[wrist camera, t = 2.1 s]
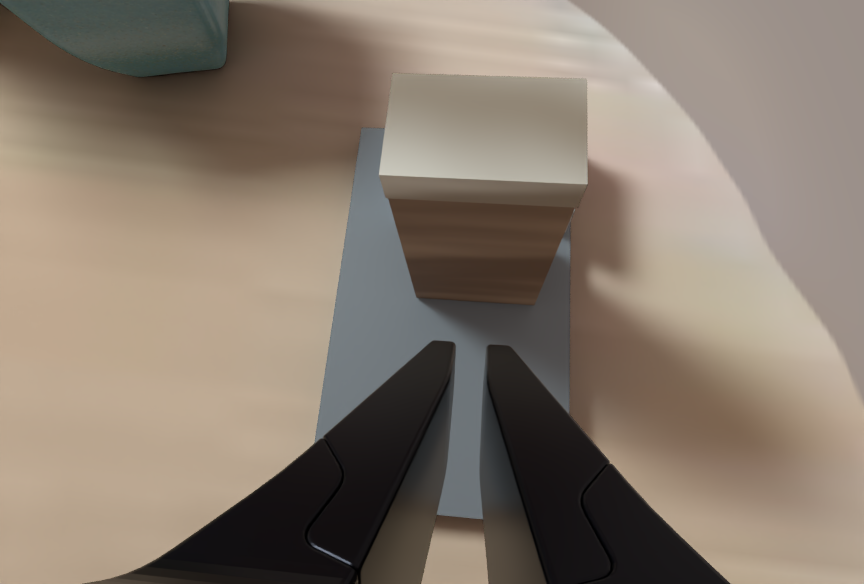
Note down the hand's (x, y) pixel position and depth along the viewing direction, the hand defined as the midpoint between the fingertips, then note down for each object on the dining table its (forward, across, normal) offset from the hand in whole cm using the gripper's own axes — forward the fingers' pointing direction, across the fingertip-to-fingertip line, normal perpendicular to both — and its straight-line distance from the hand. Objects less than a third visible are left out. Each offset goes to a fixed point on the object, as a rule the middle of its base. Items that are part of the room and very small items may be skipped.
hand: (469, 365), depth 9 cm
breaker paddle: (+14, 0, +4) cm, 14 cm away
